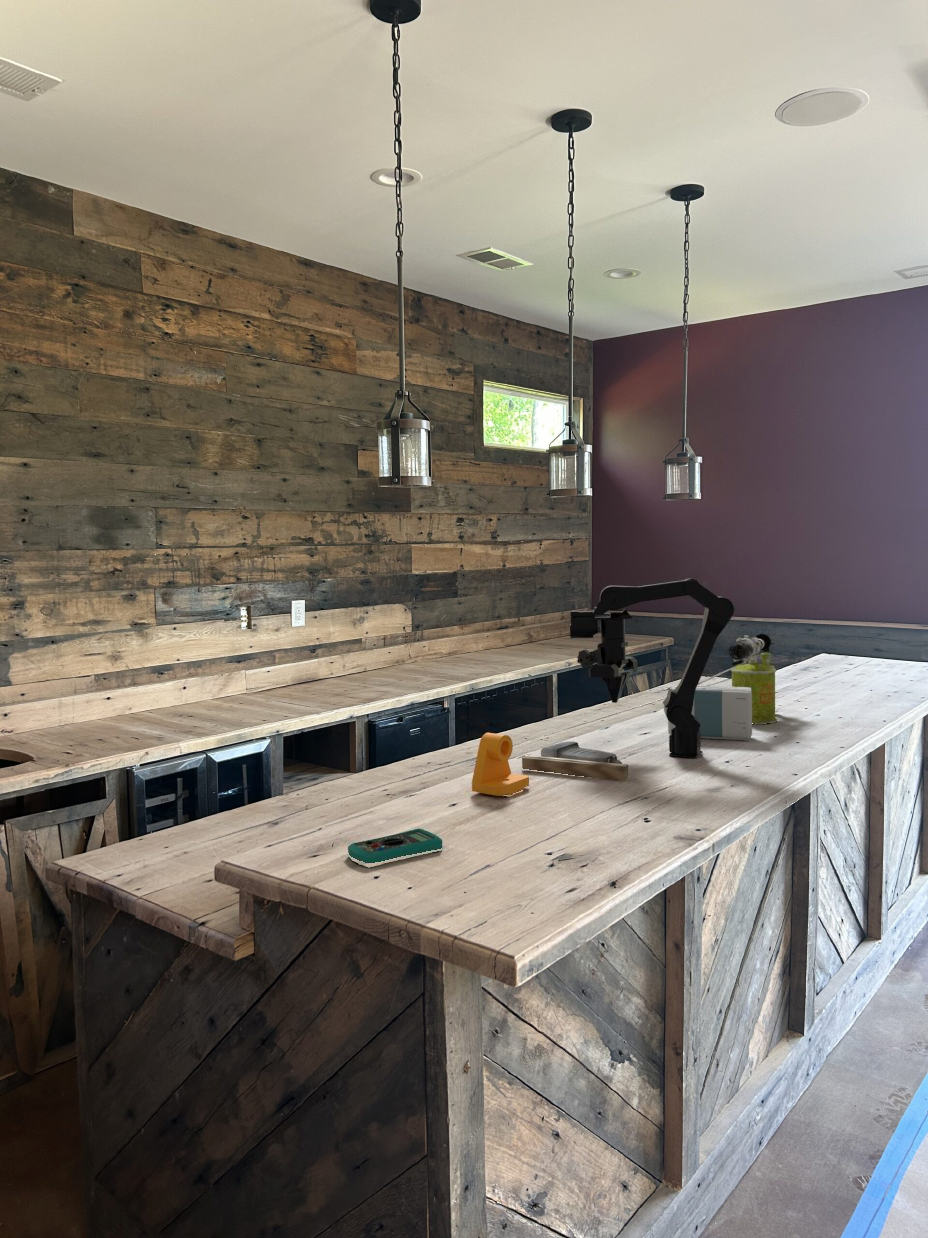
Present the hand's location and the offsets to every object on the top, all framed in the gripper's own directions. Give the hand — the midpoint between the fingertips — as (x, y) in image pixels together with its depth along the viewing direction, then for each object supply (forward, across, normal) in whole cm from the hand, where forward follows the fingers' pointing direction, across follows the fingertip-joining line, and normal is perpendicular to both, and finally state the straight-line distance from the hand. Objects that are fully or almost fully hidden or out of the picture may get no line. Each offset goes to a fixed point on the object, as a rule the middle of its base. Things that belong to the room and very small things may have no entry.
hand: (614, 702), depth 219 cm
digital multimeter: (+13, +84, -9) cm, 86 cm away
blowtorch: (+14, -57, +22) cm, 62 cm away
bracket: (+13, +42, -11) cm, 45 cm away
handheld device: (+13, +13, -3) cm, 19 cm away
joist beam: (+13, +22, -2) cm, 26 cm away
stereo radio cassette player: (+13, -29, +16) cm, 36 cm away
